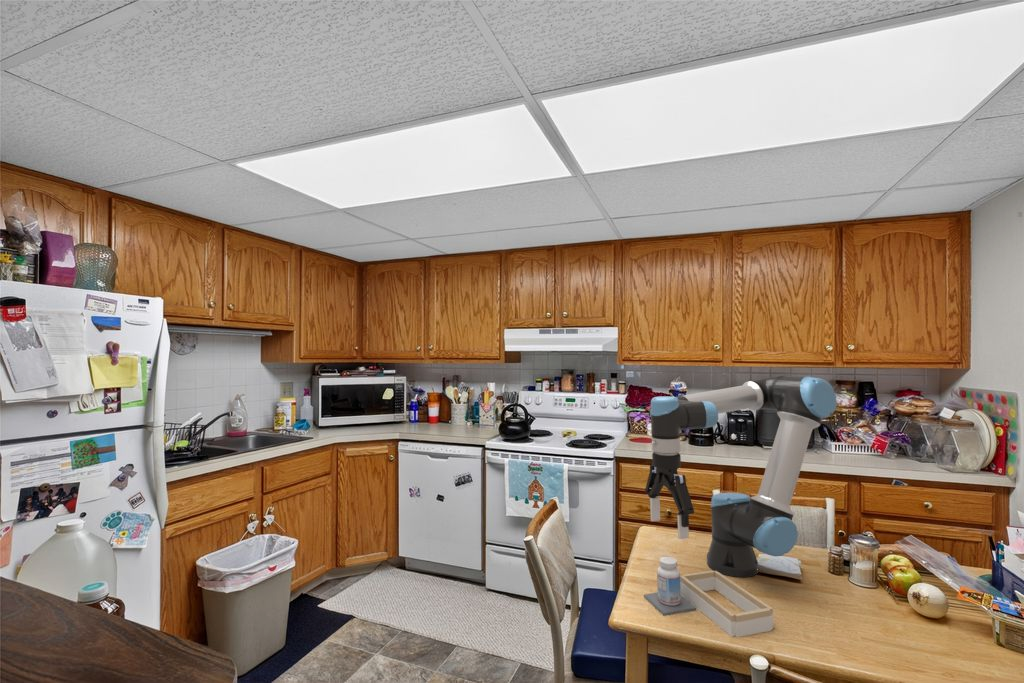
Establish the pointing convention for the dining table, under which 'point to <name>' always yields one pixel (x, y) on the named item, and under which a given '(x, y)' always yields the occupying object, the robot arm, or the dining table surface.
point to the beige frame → (739, 624)
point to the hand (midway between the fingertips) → (668, 529)
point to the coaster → (667, 609)
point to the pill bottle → (668, 582)
